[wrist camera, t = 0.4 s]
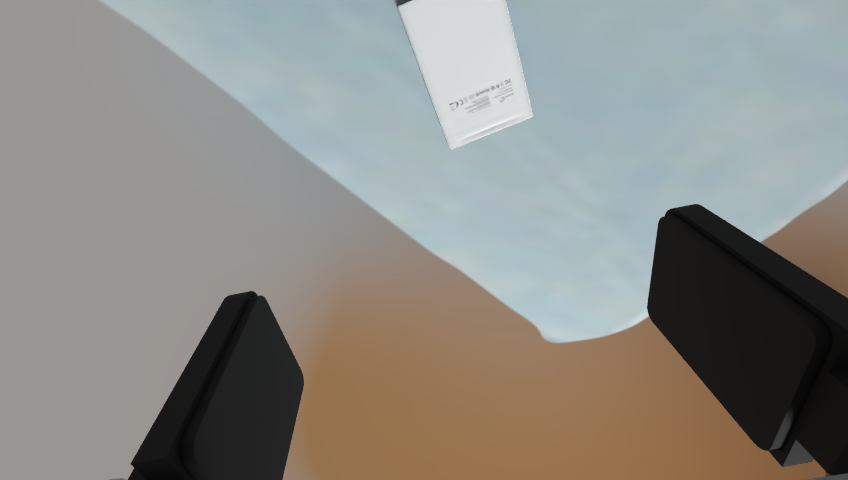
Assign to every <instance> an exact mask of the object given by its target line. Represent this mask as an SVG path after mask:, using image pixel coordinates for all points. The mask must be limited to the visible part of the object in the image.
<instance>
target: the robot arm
mask: <svg viewBox="0 0 848 480" xmlns="http://www.w3.org/2000/svg"><path fill="white" fill-rule="evenodd" d="M647 309H648V314H649V316H650V319H651V320H652V322H653V323H654V324H655V325H656V326H657V328H658V329H659V330H660V331H661V332H662V334H663V335H664V336H665V337H666V338H667V340H668V341H669V342H670V343H671V344H672V346H673V347H674V348H675V349H676V350H677V351H678V353H679V354H680V355H681V356H682V357H683V359H684V360H685V361H686V362H687V363H688V365H689V366H690V367H691V368H692V369H693V371H694V372H695V373H696V374H697V375H698V377H699V378H700V379H701V380H702V381H703V382H704V384H705V385H706V386H707V387H708V389H709V390H710V391H711V392H712V393H713V395H714V396H715V397H716V398H717V399H718V400H719V402H720V403H721V404H722V405H723V406H724V408H725V409H726V410H727V411H728V412H729V413H730V415H731V416H732V417H733V418H734V420H735V421H736V422H737V423H738V424H739V426H740V427H741V428H742V429H743V430H744V432H745V433H746V434H747V435H748V436H749V438H750V439H751V440H752V441H753V442H754V443H755V444H756V445H757V446H758V447H759V448H761V449H763V450H768V451H769V452H770V453H771V454H772V455H773V457H774V458H775V459H776V460H777V461H778V462H779V464H780V465H781V466H782V467H785V466H791V465H797V464H802V463H808V462H812V461H813V459H815V460H816V461H817V462H818V463H819V464H820V465H821V467H822V468H823V469H824V470H825V475H826V477H821V478H814V479H807V480H848V298H846V297H845V296H843V295H842V294H840V293H838V292H837V291H835V290H834V289H832V288H831V287H829V286H827V285H826V284H824V283H823V282H821V281H820V280H818V279H816V278H815V277H813V276H812V275H810V274H808V273H807V272H805V271H804V270H802V269H801V268H799V267H797V266H796V265H794V264H792V263H791V262H790V261H788V260H786V259H785V258H783V257H782V256H780V255H778V254H777V253H775V252H774V251H772V250H771V249H769V248H767V247H766V246H764V245H763V244H761V243H760V242H758V241H756V240H755V239H753V238H752V237H750V236H749V235H747V234H745V233H744V232H742V231H741V230H739V229H737V228H736V227H734V226H733V225H731V224H730V223H728V222H726V221H725V220H723V219H722V218H720V217H719V216H717V215H715V214H714V213H712V212H711V211H709V210H707V209H706V208H704V207H703V206H701V205H698V204H693V205H688V206H683V207H678V208H673V209H670V210H668V211H667V212H666V214H665V217H662V218H661V219H660V220H659V223H658V230H657V237H656V245H655V252H654V260H653V267H652V275H651V282H650V289H649V297H648V304H647ZM303 386H304V380H303V374H302V371H301V369H300V367H299V365H298V363H297V361H296V359H295V357H294V355H293V353H292V351H291V349H290V347H289V345H288V343H287V341H286V339H285V337H284V335H283V333H282V331H281V329H280V327H279V325H278V323H277V321H276V318H275V316H274V314H273V312H272V311H271V308H270V306H269V304H268V302H267V300H266V299H265V297H263V296H258V295H257V294H256V293H255V292H253V291H250V292H245V293H240V294H234V295H229V296H227V297H226V298H225V299H224V301H223V302H222V304H221V306H220V308H219V309H218V311H217V313H216V315H215V316H214V318H213V320H212V322H211V324H210V325H209V327H208V329H207V331H206V332H205V334H204V336H203V337H202V339H201V341H200V343H199V345H198V346H197V348H196V350H195V352H194V353H193V355H192V357H191V359H190V360H189V362H188V364H187V366H186V367H185V369H184V371H183V373H182V374H181V376H180V378H179V380H178V381H177V383H176V385H175V387H174V388H173V391H172V392H171V394H170V396H169V397H168V399H167V401H166V403H165V404H164V406H163V408H162V410H161V411H160V413H159V415H158V417H157V418H156V420H155V422H154V424H153V425H152V427H151V429H150V431H149V432H148V434H147V436H146V438H145V439H144V441H143V443H142V445H141V447H140V448H139V450H138V452H137V454H136V455H135V457H134V459H133V461H132V462H131V465H132V466H133V467H134V469H133V472H132V473H131V475H130V477H129V478H128V480H282V479H283V474H284V469H285V465H286V461H287V456H288V452H289V448H290V444H291V439H292V434H293V430H294V426H295V421H296V417H297V413H298V408H299V404H300V400H301V395H302V391H303ZM111 480H125V479H122V478H121V479H111Z"/></svg>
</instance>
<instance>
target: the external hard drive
mask: <svg viewBox="0 0 848 480" xmlns="http://www.w3.org/2000/svg"><path fill="white" fill-rule="evenodd" d="M397 8H398V10H399V13H400V16H401V18H402V21H403V24H404V27H405V29H406V32H407V35H408V37H409V40H410V43H411V45H412V48H413V51H414V54H415V56H416V59H417V62H418V64H419V67H420V70H421V73H422V75H423V78H424V81H425V84H426V86H427V89H428V92H429V95H430V97H431V100H432V103H433V105H434V108H435V111H436V114H437V116H438V119H439V122H440V124H441V127H442V130H443V133H444V135H445V138H446V141H447V143H448V146H449V149H454V148H457V147H459V146H462V145H464V144H467V143H469V142H471V141H474V140H476V139H479V138H481V137H484V136H486V135H489V134H491V133H494V132H496V131H499V130H501V129H504V128H506V127H509V126H511V125H514V124H516V123H519V122H521V121H524V120H526V119H529V118H531V117H532V116H533V112H532V108H531V104H530V99H529V95H528V91H527V87H526V82H525V78H524V74H523V70H522V65H521V61H520V57H519V53H518V49H517V45H516V40H515V36H514V32H513V28H512V24H511V19H510V15H509V11H508V7H507V3H506V0H411V1H409V2H406V3H404V4H402V5H399V6H398V7H397Z"/></svg>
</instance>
